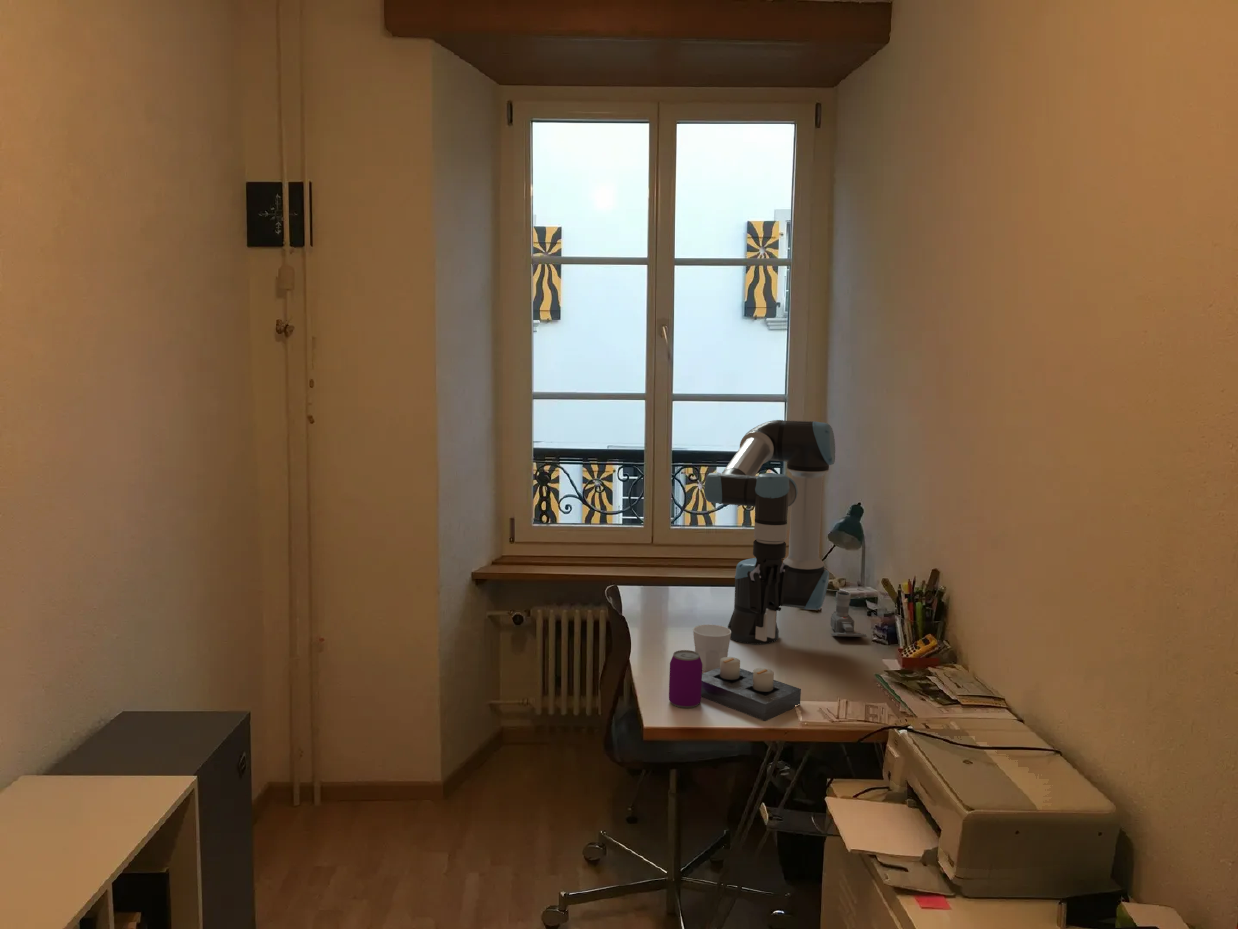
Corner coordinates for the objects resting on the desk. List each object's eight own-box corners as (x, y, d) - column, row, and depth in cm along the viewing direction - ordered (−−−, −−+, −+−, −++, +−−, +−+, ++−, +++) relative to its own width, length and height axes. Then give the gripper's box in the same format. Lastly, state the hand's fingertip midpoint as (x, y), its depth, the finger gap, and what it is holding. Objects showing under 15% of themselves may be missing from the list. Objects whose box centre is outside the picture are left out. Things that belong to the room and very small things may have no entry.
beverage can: (664, 706, 205) (666, 657, 204) (674, 694, 212) (675, 647, 211) (695, 711, 203) (697, 662, 201) (704, 699, 210) (706, 651, 208)
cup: (690, 659, 238) (692, 624, 237) (727, 660, 238) (729, 625, 236) (692, 672, 228) (694, 635, 227) (731, 673, 228) (732, 637, 226)
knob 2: (760, 682, 210) (761, 665, 210) (777, 688, 207) (778, 671, 206) (748, 687, 207) (749, 670, 206) (765, 693, 203) (765, 675, 203)
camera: (854, 590, 268) (868, 605, 253) (852, 627, 270) (866, 644, 255) (826, 589, 268) (838, 604, 253) (824, 626, 270) (836, 643, 255)
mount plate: (727, 679, 224) (728, 664, 223) (800, 705, 208) (801, 689, 207) (691, 693, 214) (692, 677, 213) (764, 721, 198) (765, 704, 198)
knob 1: (728, 671, 217) (728, 654, 217) (743, 676, 214) (744, 659, 213) (715, 675, 214) (716, 659, 213) (731, 681, 211) (732, 664, 210)
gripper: (776, 533, 210) (771, 627, 213) (736, 542, 200) (731, 641, 203) (802, 538, 205) (797, 635, 208) (762, 547, 194) (758, 649, 197)
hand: (765, 638), depth 205 cm, fingers open, 3 cm apart
